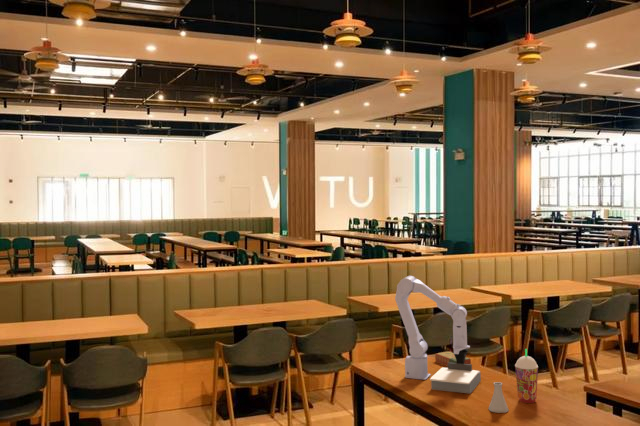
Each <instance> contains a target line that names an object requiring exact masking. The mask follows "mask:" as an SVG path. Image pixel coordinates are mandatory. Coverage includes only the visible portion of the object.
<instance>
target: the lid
mask: <svg viewBox="0 0 640 426" xmlns="http://www.w3.org/2000/svg"><path fill="white" fill-rule="evenodd" d="M479 372H480V370H475V369H473V364H472V363H471V364H461V363H450V362H448V366H447V367H441V368H440V369H438V371H437V372H435V373H434V374H433V375H432V376H430V377H429V381H431V380H432V381H441V382H451V383H460V384H470V383H471V381H472V380H473V379H474V378H475V377H476V376H477V374H478V373H479Z"/></svg>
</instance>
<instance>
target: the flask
mask: <svg viewBox="0 0 640 426" xmlns="http://www.w3.org/2000/svg"><path fill="white" fill-rule="evenodd" d="M493 386H494V387H493V395H492V397H491V401H490V403H489V406H488V410H489V411H490V413H491V412H492V413H498V414H500V413H501V414H502V413H503V414H506V413H507V412H509V407H508V404H507V401H506V400H505V397H504V393H503V389H502V387H503V382H500V381H499V382H493Z"/></svg>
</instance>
